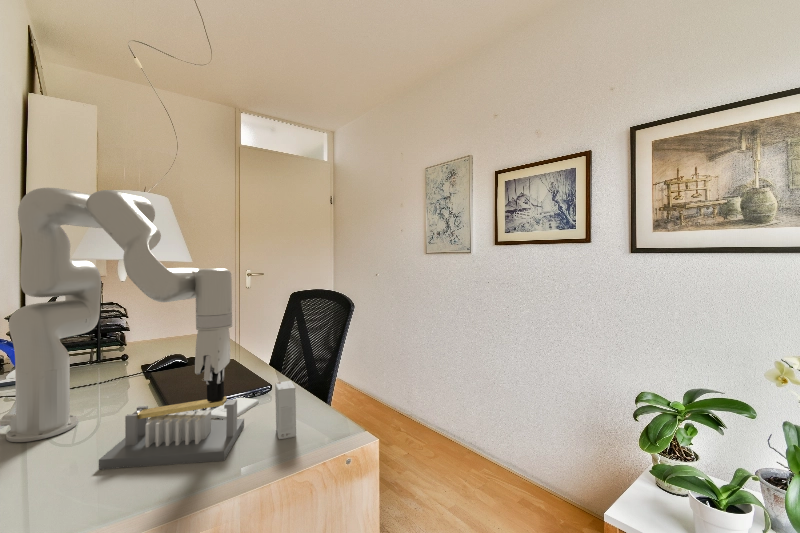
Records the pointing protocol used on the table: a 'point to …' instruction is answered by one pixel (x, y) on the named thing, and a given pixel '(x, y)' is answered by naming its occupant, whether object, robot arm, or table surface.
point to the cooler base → (173, 452)
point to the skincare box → (285, 409)
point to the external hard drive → (242, 406)
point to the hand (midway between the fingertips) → (215, 399)
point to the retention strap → (178, 408)
